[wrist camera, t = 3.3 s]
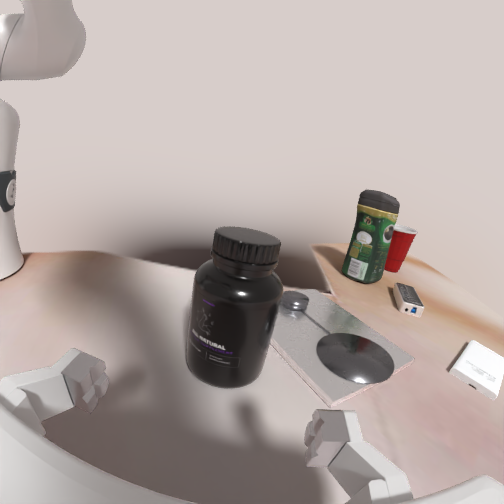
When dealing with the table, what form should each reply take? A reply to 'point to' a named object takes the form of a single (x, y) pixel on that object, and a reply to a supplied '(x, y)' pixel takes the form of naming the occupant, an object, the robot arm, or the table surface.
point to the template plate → (333, 347)
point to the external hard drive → (480, 369)
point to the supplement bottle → (234, 308)
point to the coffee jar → (371, 236)
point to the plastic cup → (399, 247)
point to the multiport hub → (407, 300)
